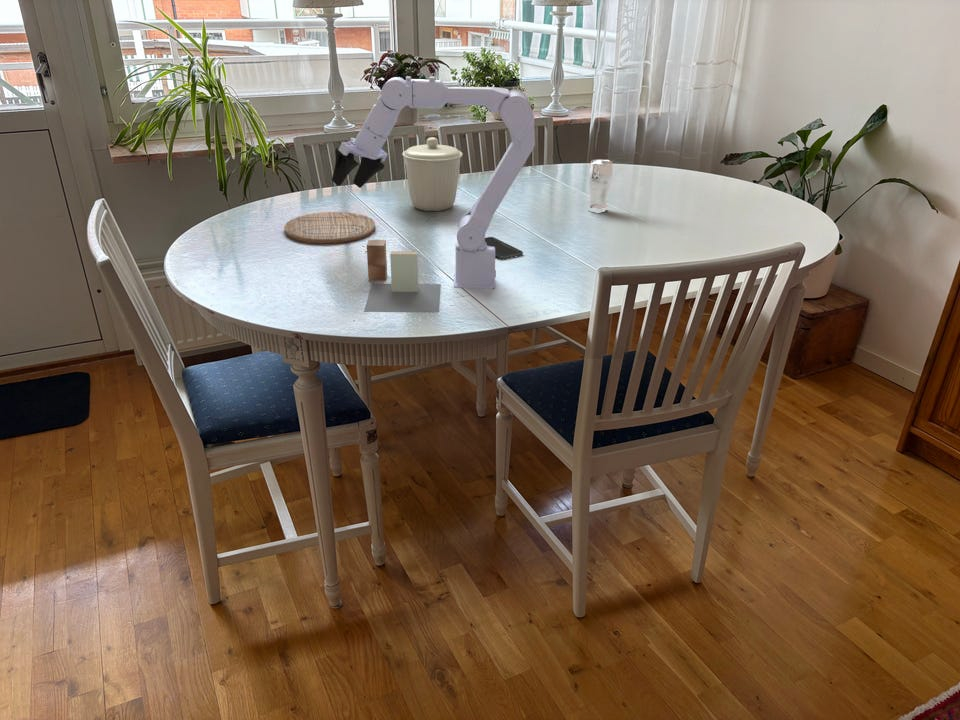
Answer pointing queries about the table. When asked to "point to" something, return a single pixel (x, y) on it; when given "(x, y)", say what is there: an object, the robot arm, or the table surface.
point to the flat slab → (404, 271)
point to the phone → (502, 248)
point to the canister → (432, 175)
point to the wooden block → (377, 260)
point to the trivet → (329, 228)
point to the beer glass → (599, 182)
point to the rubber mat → (403, 299)
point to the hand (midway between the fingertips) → (346, 184)
